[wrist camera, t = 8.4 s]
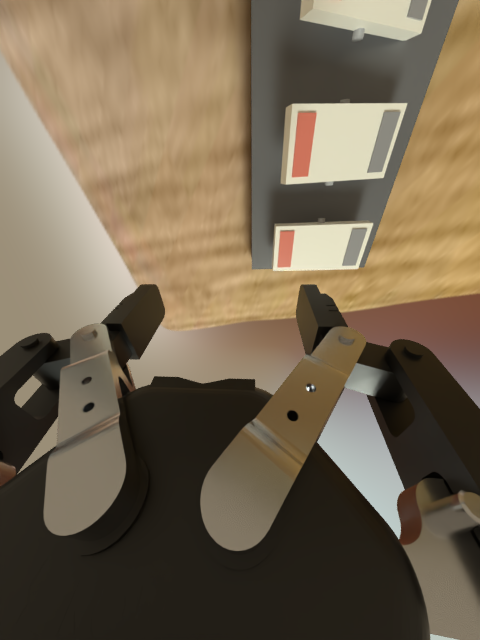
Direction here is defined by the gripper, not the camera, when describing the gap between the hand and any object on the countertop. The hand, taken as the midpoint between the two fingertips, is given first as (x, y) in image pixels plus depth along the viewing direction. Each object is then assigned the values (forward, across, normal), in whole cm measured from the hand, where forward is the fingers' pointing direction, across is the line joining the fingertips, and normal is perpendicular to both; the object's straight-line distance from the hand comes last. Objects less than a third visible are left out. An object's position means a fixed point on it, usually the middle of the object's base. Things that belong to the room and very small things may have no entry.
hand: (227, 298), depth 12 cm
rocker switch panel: (+14, -7, -7) cm, 17 cm away
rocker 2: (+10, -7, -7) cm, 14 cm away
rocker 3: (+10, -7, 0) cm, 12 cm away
